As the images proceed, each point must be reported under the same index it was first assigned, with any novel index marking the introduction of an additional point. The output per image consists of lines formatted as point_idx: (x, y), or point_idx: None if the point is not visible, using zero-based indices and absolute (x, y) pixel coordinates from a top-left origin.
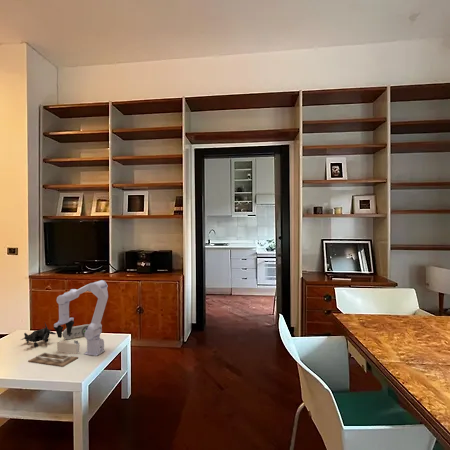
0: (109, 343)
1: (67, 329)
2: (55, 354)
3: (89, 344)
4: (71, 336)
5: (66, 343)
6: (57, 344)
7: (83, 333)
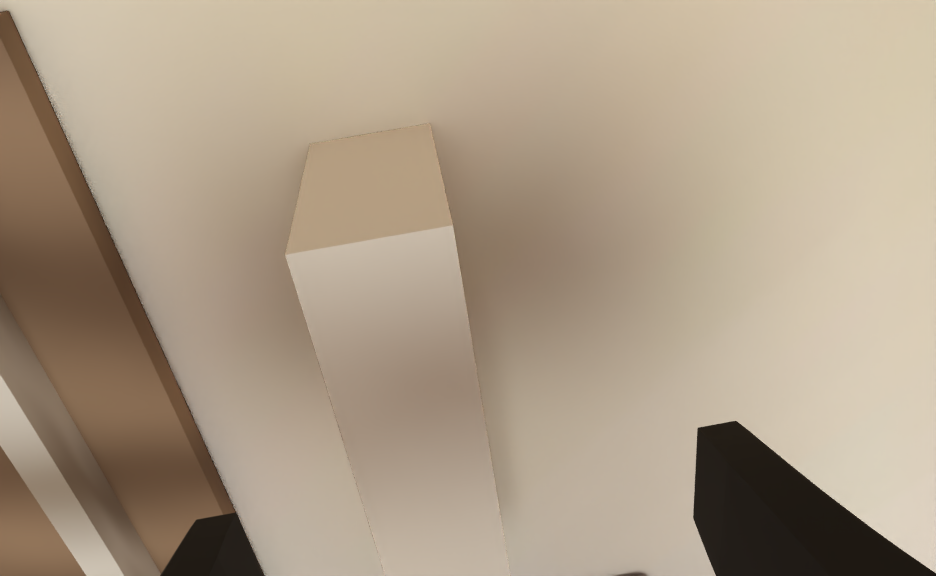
0: None
1: (791, 570)
2: (36, 484)
3: None
4: None
5: (368, 517)
6: (298, 229)
7: None
